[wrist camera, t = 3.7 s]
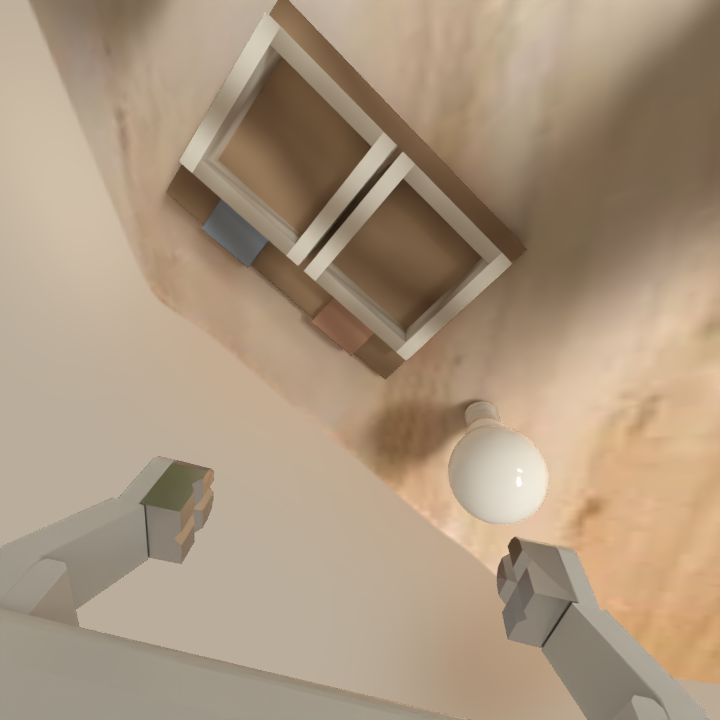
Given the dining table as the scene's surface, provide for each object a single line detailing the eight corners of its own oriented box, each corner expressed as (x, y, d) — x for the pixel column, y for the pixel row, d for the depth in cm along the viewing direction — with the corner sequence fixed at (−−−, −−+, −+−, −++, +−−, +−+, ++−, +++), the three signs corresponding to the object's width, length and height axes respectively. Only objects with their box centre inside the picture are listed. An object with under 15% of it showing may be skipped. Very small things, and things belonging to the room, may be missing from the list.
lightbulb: (439, 439, 36) (448, 542, 26) (444, 375, 34) (456, 464, 24) (513, 443, 36) (551, 551, 26) (525, 379, 33) (572, 472, 23)
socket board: (286, -1, 24) (267, -25, 21) (523, 246, 29) (536, 257, 25) (173, 191, 30) (144, 194, 27) (385, 373, 34) (383, 394, 31)
